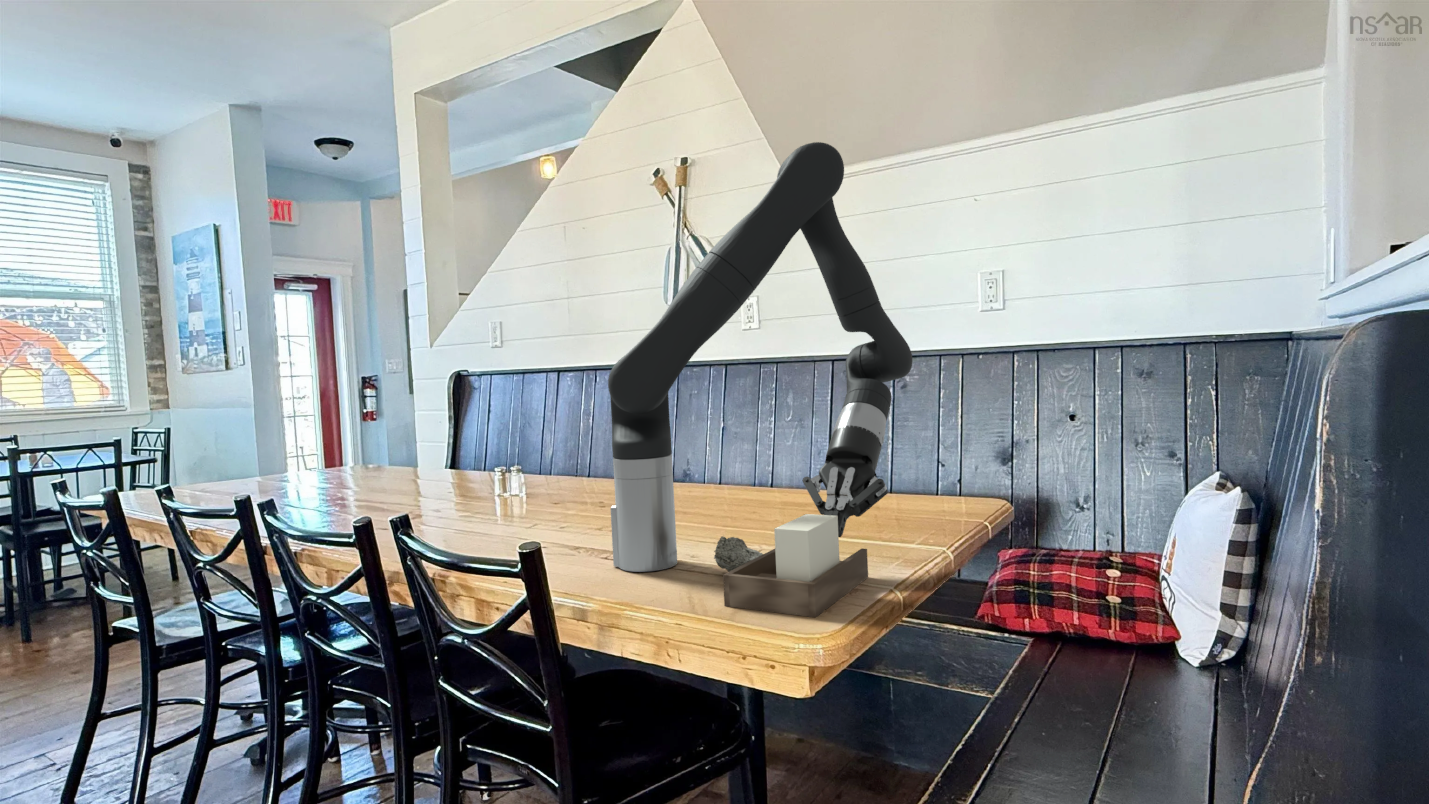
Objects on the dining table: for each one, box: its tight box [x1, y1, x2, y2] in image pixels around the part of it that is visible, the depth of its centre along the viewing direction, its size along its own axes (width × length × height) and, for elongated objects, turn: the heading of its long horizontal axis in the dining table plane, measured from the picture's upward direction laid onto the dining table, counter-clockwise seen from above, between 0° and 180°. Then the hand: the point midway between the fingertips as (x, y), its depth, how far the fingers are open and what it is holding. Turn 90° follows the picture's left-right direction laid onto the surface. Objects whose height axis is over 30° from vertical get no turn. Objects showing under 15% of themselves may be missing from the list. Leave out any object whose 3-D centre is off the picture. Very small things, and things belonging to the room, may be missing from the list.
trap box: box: [722, 548, 869, 618], centre depth 103 cm, size 12×19×4 cm, turn 150°
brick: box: [774, 513, 841, 582], centre depth 99 cm, size 4×10×8 cm, turn 150°
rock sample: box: [713, 535, 764, 573], centre depth 114 cm, size 10×8×9 cm
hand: (830, 537), depth 106 cm, fingers closed
